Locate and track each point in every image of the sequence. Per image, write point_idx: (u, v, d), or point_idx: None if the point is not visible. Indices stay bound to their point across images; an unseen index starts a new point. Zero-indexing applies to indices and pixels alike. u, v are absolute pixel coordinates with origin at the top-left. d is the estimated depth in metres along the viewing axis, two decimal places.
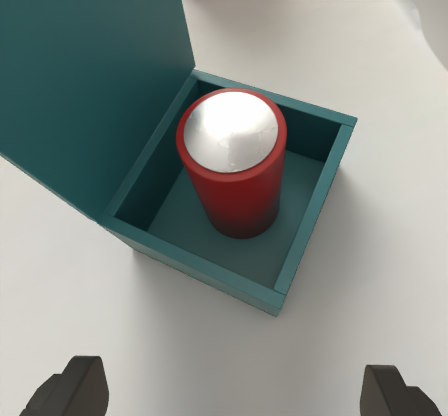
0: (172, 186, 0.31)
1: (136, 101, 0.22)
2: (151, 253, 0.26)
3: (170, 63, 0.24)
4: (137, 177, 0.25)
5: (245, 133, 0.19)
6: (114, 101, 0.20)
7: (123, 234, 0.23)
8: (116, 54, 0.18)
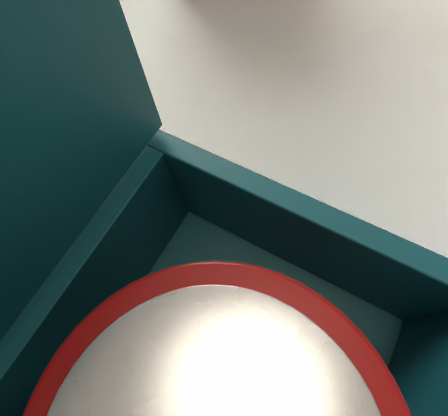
0: None
1: None
2: None
3: (86, 134, 0.10)
4: None
5: None
6: None
7: None
8: None
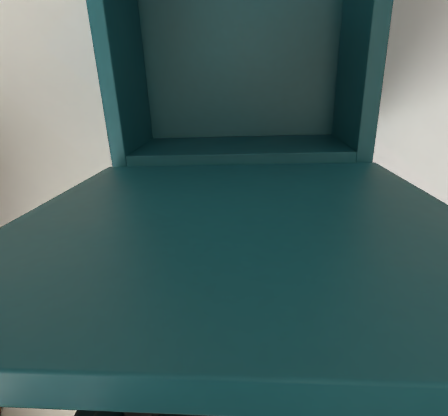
0: (253, 136, 0.24)
1: (228, 182, 0.15)
2: None
3: (142, 179, 0.16)
4: (294, 152, 0.19)
5: None
6: (263, 193, 0.13)
7: (375, 125, 0.18)
8: (216, 210, 0.12)
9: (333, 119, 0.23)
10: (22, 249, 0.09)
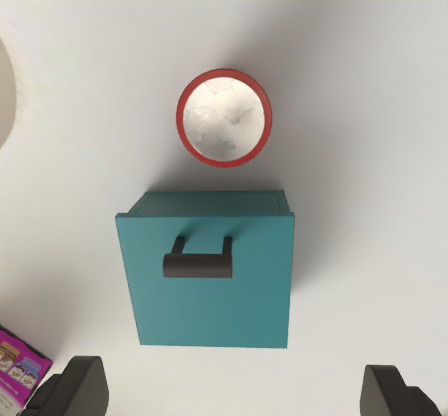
0: None
1: None
2: None
3: None
4: None
5: (221, 106, 0.22)
6: None
7: None
8: None
9: None
10: None
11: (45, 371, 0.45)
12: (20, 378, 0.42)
